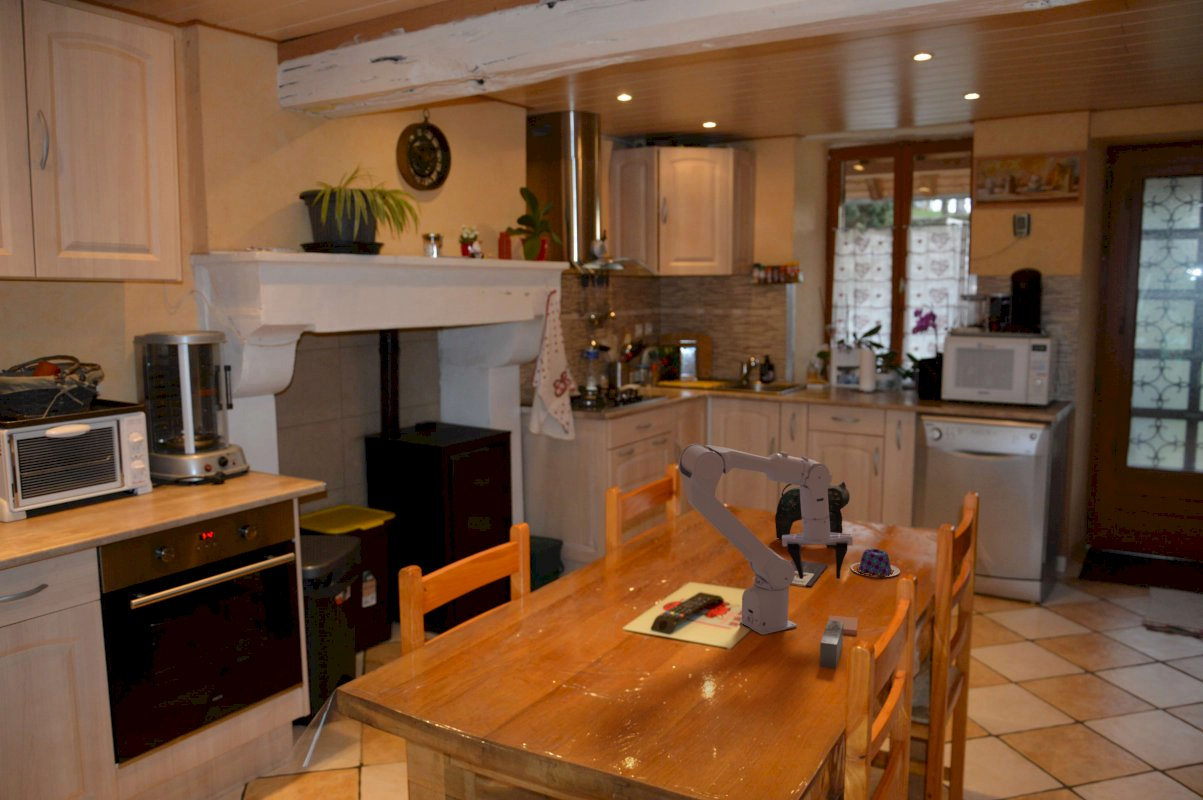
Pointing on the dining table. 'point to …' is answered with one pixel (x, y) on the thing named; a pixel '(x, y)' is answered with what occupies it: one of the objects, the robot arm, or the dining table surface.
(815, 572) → the chocolate bar
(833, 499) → the ceramic cat
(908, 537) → the dining table surface
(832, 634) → the tall grey plank
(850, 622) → the tile
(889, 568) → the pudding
